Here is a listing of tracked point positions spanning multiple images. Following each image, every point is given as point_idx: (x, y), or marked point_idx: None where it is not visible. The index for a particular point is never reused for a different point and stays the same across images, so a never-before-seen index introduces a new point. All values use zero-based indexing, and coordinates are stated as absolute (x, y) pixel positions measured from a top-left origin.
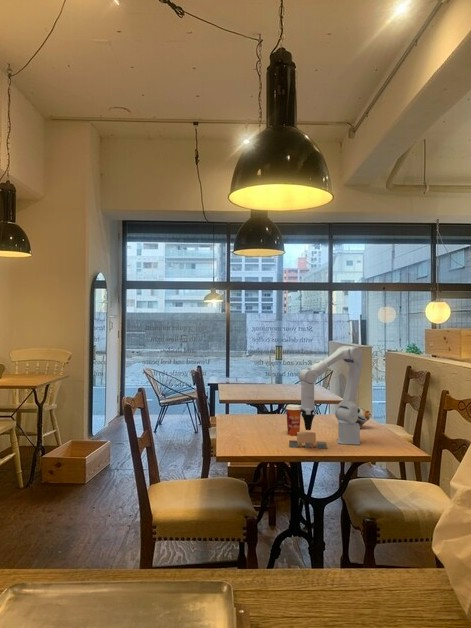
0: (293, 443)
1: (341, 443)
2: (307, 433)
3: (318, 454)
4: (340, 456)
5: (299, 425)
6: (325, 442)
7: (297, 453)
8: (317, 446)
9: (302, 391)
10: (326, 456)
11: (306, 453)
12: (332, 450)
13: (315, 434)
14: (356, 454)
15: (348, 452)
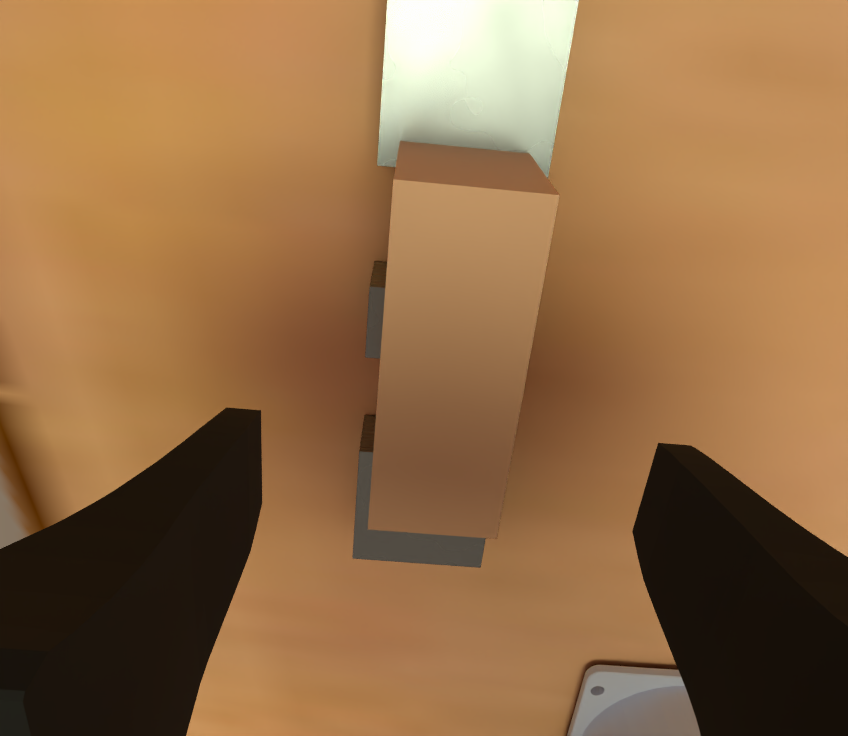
0: (384, 64)
1: (580, 689)
2: (409, 401)
3: (70, 392)
4: None
5: None
6: (448, 559)
7: (24, 93)
8: (362, 434)
9: None
10: (8, 468)
11: (70, 239)
12: (300, 565)
13: (369, 523)
14: (187, 730)
15: (247, 685)
